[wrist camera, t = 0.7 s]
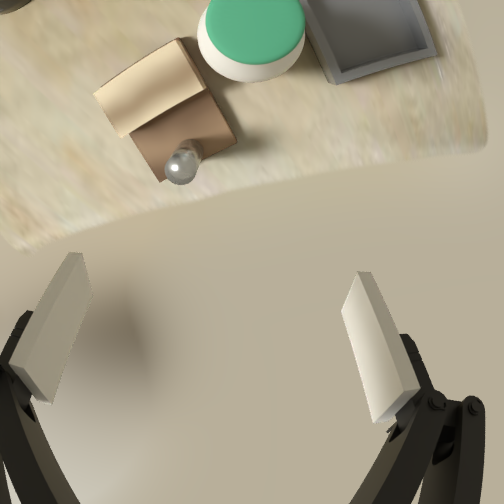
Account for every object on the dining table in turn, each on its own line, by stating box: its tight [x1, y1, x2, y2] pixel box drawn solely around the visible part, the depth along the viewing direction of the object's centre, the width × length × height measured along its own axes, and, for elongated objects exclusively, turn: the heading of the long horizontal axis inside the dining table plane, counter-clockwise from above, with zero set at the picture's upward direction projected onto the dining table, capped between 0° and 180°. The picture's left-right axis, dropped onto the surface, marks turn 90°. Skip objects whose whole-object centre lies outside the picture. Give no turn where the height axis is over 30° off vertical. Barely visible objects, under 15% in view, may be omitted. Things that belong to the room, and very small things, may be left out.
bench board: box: [101, 38, 237, 182], centre depth 31 cm, size 14×10×1 cm
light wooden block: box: [93, 40, 206, 138], centre depth 28 cm, size 6×10×2 cm, turn 116°
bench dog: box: [165, 139, 203, 185], centre depth 31 cm, size 3×3×6 cm
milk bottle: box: [197, 0, 305, 83], centre depth 19 cm, size 8×8×20 cm
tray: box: [299, 0, 437, 85], centre depth 24 cm, size 13×13×3 cm
